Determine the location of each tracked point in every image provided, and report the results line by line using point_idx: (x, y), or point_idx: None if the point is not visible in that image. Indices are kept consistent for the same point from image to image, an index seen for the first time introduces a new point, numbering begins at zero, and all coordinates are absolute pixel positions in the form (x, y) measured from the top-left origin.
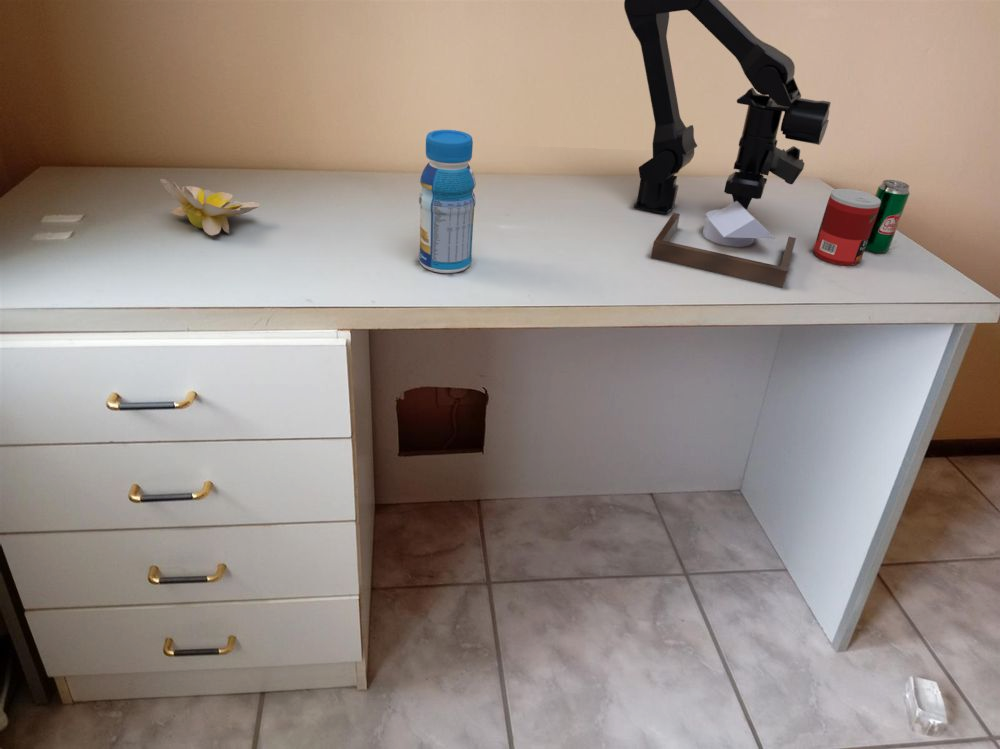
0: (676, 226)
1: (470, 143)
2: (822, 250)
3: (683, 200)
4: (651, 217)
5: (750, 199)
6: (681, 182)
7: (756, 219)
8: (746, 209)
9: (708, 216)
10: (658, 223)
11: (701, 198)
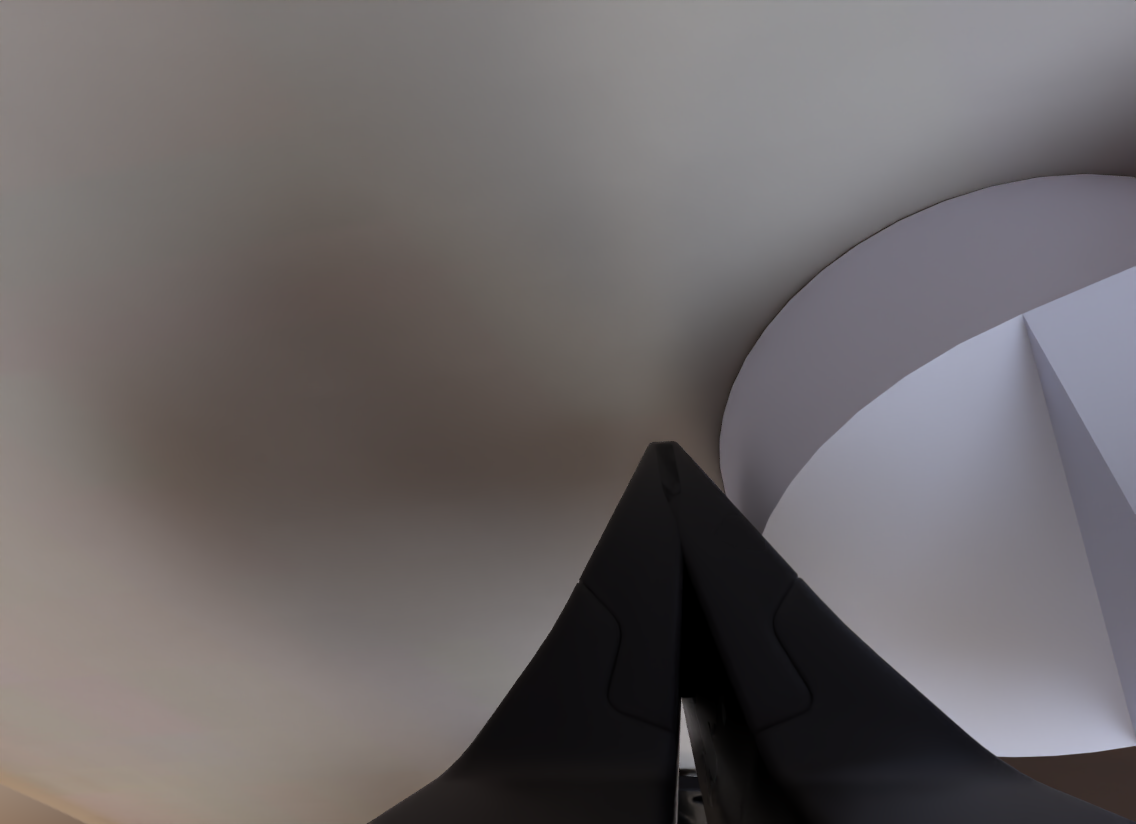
0: (1027, 760)
1: None
2: None
3: (368, 733)
4: None
5: (874, 662)
6: (92, 762)
7: (1041, 316)
8: (738, 513)
9: (1081, 745)
10: None
11: (231, 672)
